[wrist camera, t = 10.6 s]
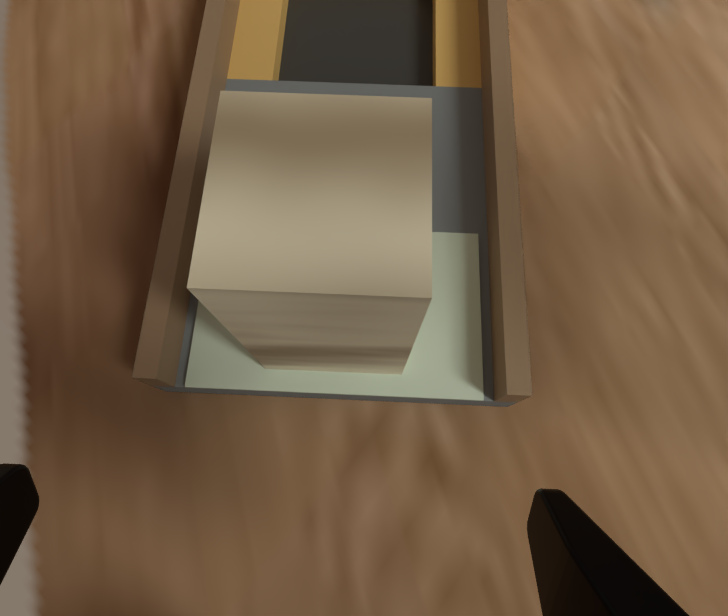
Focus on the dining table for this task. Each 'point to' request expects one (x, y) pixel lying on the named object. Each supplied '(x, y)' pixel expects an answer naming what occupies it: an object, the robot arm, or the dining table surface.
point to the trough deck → (449, 193)
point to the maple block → (318, 228)
